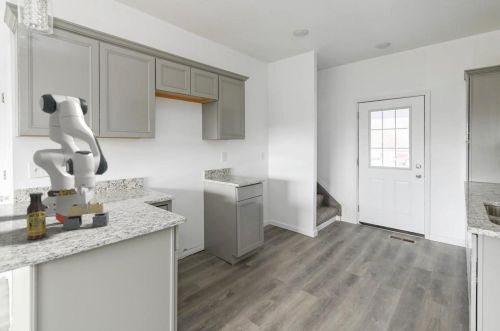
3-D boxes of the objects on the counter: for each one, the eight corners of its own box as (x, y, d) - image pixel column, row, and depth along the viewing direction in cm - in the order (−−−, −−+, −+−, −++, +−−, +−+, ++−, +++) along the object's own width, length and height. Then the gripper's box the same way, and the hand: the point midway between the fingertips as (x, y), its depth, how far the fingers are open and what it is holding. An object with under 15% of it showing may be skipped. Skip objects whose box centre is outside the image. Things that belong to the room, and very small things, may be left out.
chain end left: (63, 230, 117) (62, 220, 116) (68, 225, 124) (67, 216, 124) (78, 228, 119) (77, 218, 119) (82, 224, 127) (81, 214, 126)
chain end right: (108, 221, 131) (108, 212, 131) (106, 225, 124) (106, 216, 124) (95, 222, 129) (95, 213, 129) (92, 227, 122) (92, 217, 121)
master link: (69, 215, 119) (68, 205, 119) (71, 214, 122) (70, 204, 122) (102, 212, 125) (102, 202, 125) (103, 211, 128) (103, 201, 127)
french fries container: (55, 223, 129) (53, 189, 127) (80, 218, 137) (78, 186, 135) (57, 224, 126) (55, 190, 124) (82, 220, 133) (80, 187, 132)
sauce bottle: (28, 241, 104) (25, 195, 102) (26, 237, 108) (23, 193, 106) (48, 237, 109) (45, 192, 107) (45, 233, 113) (42, 191, 111)
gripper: (88, 185, 114) (90, 214, 115) (96, 180, 133) (97, 205, 134) (72, 186, 112) (73, 216, 113) (82, 181, 130) (83, 206, 131)
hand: (86, 210), depth 123 cm, fingers closed on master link, 3 cm apart
